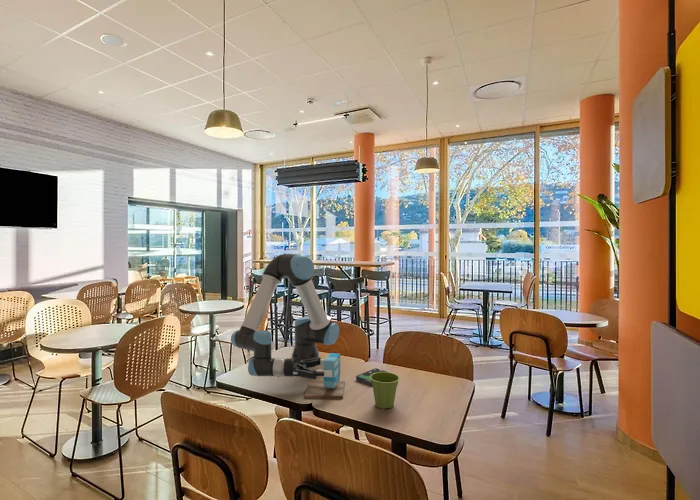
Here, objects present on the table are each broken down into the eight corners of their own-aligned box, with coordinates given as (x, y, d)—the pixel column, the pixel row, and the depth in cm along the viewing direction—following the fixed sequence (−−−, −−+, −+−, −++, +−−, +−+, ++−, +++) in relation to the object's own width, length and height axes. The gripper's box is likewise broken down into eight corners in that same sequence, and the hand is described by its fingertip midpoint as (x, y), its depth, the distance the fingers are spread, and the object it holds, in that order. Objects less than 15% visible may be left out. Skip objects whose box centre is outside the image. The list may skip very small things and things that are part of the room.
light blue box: (333, 389, 149) (334, 361, 149) (323, 388, 150) (323, 360, 150) (340, 379, 161) (340, 352, 161) (330, 378, 162) (330, 351, 161)
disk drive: (375, 373, 178) (355, 381, 167) (375, 367, 178) (355, 375, 167) (392, 378, 171) (372, 387, 160) (392, 372, 171) (372, 381, 160)
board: (310, 383, 164) (310, 380, 164) (344, 383, 163) (344, 381, 163) (304, 398, 148) (304, 395, 148) (342, 398, 147) (342, 395, 147)
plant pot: (399, 413, 135) (399, 383, 135) (368, 410, 137) (368, 381, 137) (400, 399, 146) (400, 372, 146) (371, 397, 148) (371, 370, 148)
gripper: (290, 366, 168) (335, 366, 168) (277, 387, 144) (330, 387, 143) (290, 350, 168) (335, 351, 167) (277, 368, 144) (330, 369, 143)
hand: (333, 368), depth 155 cm, fingers closed on light blue box, 12 cm apart
